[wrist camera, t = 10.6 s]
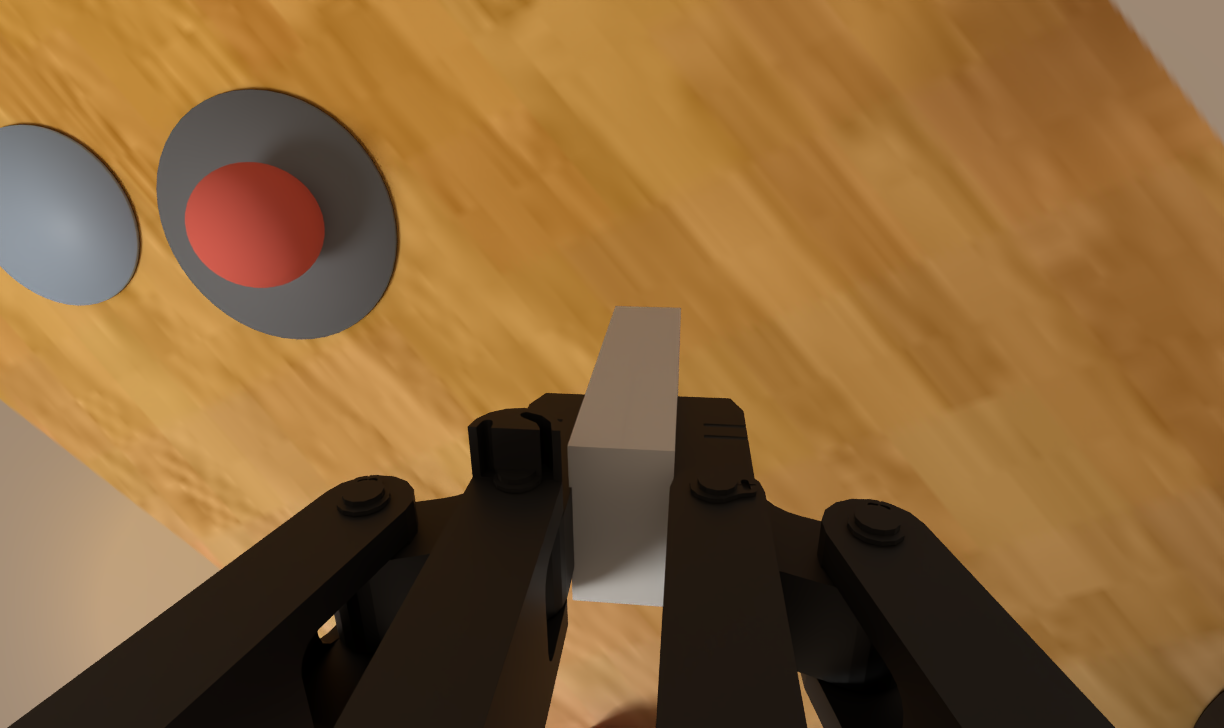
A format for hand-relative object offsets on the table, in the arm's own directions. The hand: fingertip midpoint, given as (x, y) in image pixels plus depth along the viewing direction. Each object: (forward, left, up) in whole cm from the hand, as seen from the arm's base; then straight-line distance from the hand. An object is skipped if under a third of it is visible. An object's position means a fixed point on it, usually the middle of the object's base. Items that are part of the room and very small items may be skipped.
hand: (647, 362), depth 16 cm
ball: (+18, 0, -14) cm, 23 cm away
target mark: (+19, 0, -16) cm, 25 cm away
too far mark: (+31, 0, -16) cm, 35 cm away
